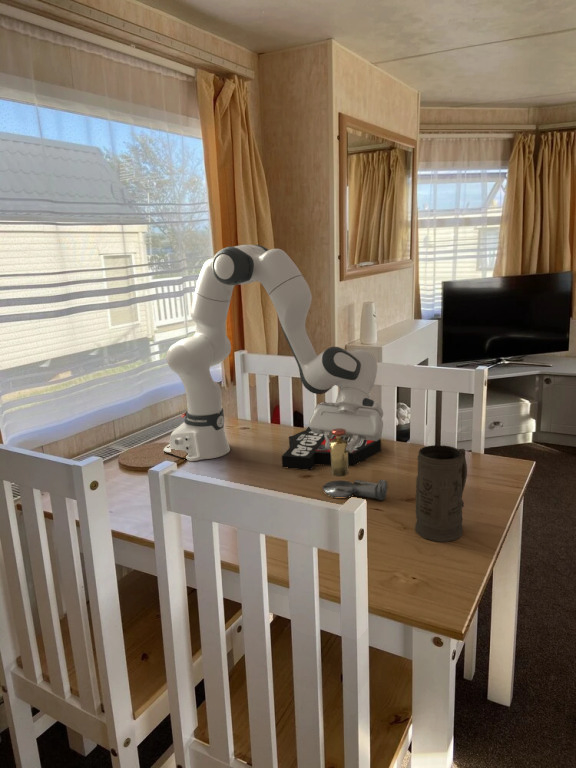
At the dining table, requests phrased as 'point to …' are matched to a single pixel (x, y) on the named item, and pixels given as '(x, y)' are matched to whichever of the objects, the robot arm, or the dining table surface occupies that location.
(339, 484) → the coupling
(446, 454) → the beer stein
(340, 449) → the valve
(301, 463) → the decorative sign
